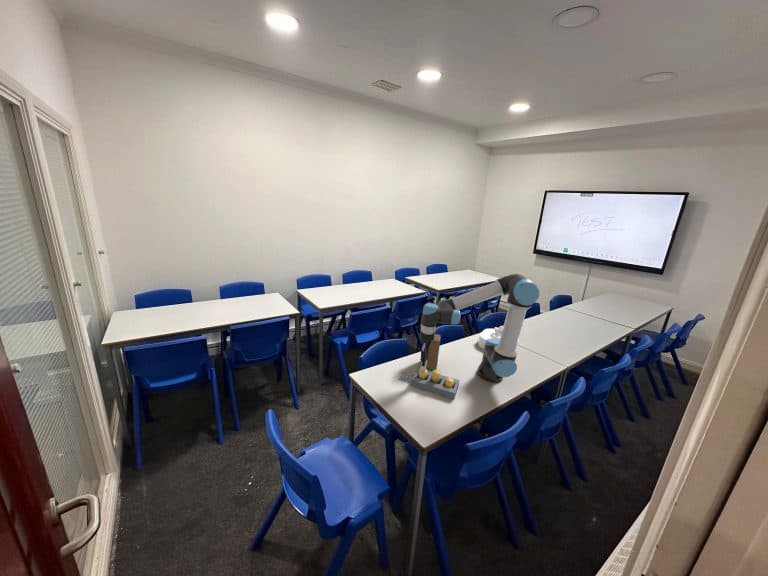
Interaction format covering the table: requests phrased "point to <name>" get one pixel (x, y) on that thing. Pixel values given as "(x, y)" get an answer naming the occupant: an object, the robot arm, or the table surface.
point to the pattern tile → (406, 377)
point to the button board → (435, 385)
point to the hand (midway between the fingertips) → (423, 370)
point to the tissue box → (491, 336)
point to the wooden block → (433, 353)
